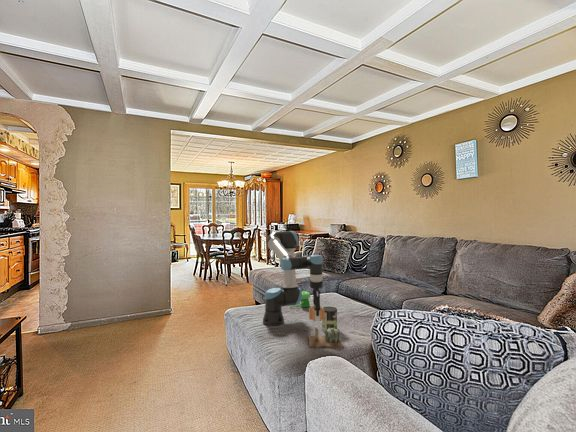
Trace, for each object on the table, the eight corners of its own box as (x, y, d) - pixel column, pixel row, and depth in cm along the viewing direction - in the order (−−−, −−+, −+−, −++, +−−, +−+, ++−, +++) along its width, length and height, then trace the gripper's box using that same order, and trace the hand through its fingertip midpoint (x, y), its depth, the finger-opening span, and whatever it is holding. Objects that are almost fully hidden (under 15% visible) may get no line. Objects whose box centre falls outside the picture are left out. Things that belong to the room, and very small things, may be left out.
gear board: (310, 347, 175) (310, 333, 175) (308, 337, 189) (308, 324, 189) (342, 347, 176) (342, 333, 175) (338, 337, 190) (338, 324, 189)
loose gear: (309, 321, 177) (309, 311, 177) (308, 315, 186) (308, 306, 186) (325, 321, 177) (325, 310, 177) (323, 315, 186) (323, 306, 186)
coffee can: (339, 328, 203) (339, 307, 203) (333, 334, 194) (333, 312, 194) (325, 325, 209) (325, 305, 208) (319, 330, 200) (318, 309, 200)
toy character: (289, 306, 255) (288, 290, 254) (311, 304, 254) (309, 289, 254) (289, 309, 245) (288, 294, 245) (311, 308, 245) (310, 292, 245)
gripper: (324, 285, 171) (325, 324, 171) (320, 276, 192) (320, 311, 193) (311, 285, 171) (312, 324, 171) (308, 276, 192) (309, 312, 193)
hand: (316, 318), depth 182 cm, fingers closed on loose gear, 9 cm apart
